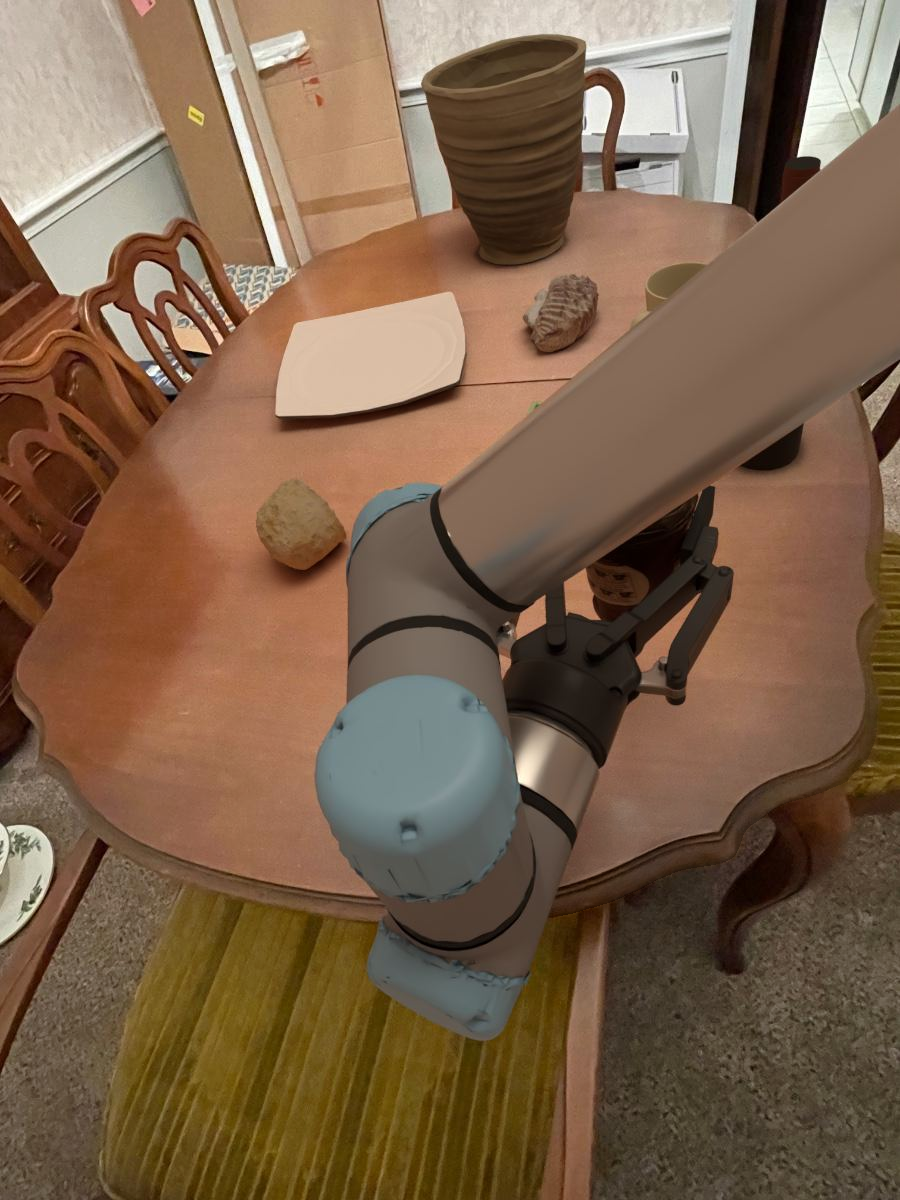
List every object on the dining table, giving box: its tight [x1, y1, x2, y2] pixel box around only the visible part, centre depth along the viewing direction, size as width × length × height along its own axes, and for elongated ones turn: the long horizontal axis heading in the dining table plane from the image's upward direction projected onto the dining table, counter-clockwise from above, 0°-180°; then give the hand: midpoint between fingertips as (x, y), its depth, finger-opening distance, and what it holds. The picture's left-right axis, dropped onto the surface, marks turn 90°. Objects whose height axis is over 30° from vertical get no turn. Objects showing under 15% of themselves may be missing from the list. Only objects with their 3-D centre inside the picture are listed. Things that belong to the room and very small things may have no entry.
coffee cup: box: [585, 493, 700, 622], centre depth 55 cm, size 9×8×13 cm
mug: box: [629, 261, 709, 330], centre depth 93 cm, size 11×10×12 cm
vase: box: [420, 33, 587, 266], centre depth 120 cm, size 24×24×30 cm
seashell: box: [522, 273, 600, 353], centre depth 107 cm, size 14×9×10 cm
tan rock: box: [255, 477, 347, 571], centre depth 85 cm, size 10×10×10 cm
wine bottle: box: [740, 155, 822, 471], centre depth 74 cm, size 8×8×30 cm
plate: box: [275, 291, 467, 420], centre depth 112 cm, size 29×29×3 cm
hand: (650, 491), depth 56 cm, fingers closed on coffee cup, 8 cm apart
